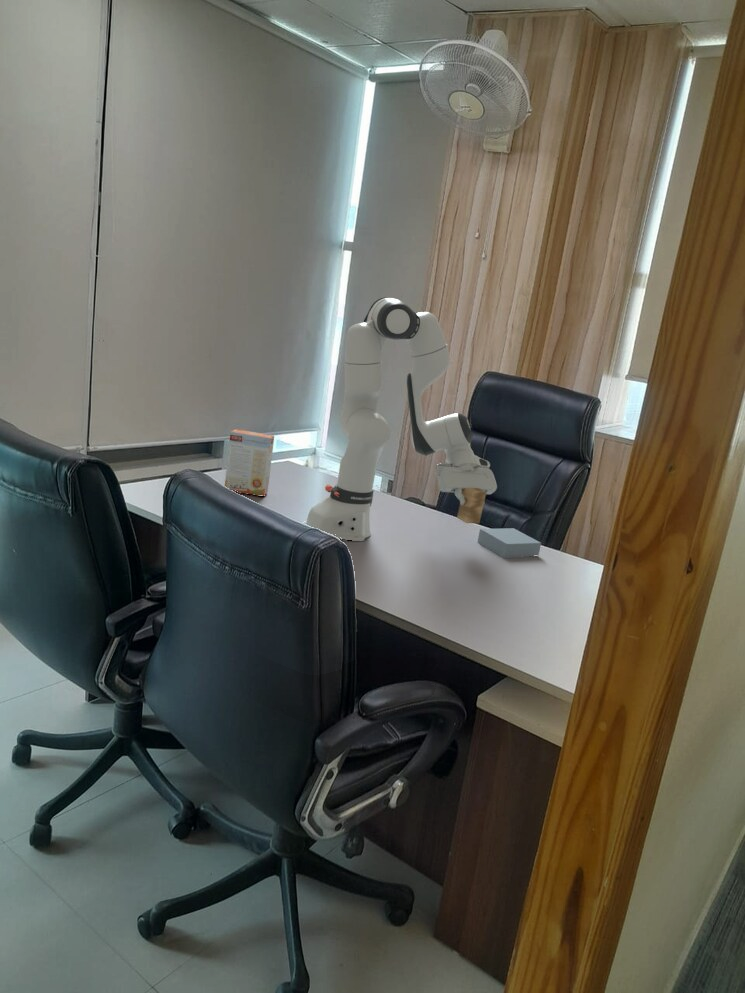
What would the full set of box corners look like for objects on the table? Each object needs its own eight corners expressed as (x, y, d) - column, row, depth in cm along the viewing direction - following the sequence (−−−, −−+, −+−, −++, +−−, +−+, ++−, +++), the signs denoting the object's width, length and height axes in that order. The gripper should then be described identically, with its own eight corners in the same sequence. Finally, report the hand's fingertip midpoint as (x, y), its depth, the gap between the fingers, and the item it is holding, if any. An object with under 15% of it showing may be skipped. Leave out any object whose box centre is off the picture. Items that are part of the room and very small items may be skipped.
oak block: (465, 522, 239) (473, 491, 237) (457, 517, 244) (463, 486, 241) (479, 523, 242) (486, 492, 239) (470, 518, 246) (477, 487, 244)
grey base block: (503, 559, 244) (506, 544, 243) (477, 543, 256) (480, 528, 255) (537, 557, 251) (541, 542, 250) (510, 542, 263) (513, 528, 262)
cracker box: (267, 494, 272) (275, 435, 267) (263, 498, 266) (271, 438, 261) (228, 486, 273) (235, 428, 267) (223, 491, 267) (230, 430, 262)
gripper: (439, 457, 239) (450, 498, 233) (493, 462, 249) (504, 501, 243) (429, 467, 244) (439, 507, 238) (482, 471, 254) (493, 510, 248)
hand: (473, 504), depth 241 cm, fingers closed on oak block, 5 cm apart
